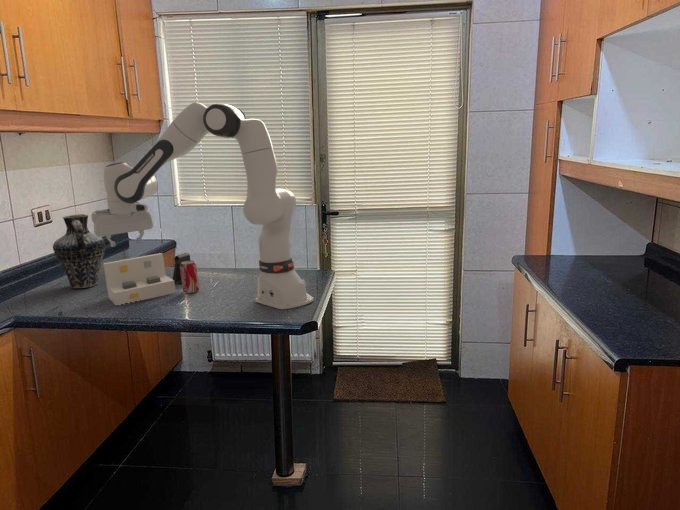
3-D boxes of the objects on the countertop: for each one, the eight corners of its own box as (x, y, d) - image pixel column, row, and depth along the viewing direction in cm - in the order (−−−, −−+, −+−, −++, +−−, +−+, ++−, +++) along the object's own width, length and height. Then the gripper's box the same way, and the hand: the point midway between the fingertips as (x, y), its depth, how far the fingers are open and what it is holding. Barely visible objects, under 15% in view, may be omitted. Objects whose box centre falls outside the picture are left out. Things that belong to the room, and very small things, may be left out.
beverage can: (197, 294, 197) (193, 263, 194) (180, 294, 197) (176, 264, 194) (201, 289, 203) (198, 259, 200) (186, 289, 203) (182, 260, 200)
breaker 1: (137, 292, 194) (135, 282, 193) (126, 295, 191) (124, 285, 191) (134, 290, 197) (133, 280, 196) (123, 292, 195) (122, 282, 194)
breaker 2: (161, 287, 199) (159, 277, 198) (150, 289, 197) (149, 279, 196) (158, 285, 202) (156, 275, 201) (147, 287, 200) (146, 277, 199)
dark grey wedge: (172, 283, 213) (168, 255, 210) (182, 279, 218) (178, 252, 215) (188, 285, 209) (185, 256, 206) (198, 281, 214) (195, 253, 211)
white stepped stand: (176, 292, 200) (171, 258, 196) (116, 306, 187) (110, 269, 184) (165, 286, 209) (161, 252, 206) (108, 298, 197) (103, 263, 194)
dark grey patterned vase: (55, 286, 218) (42, 216, 211) (103, 276, 230) (92, 210, 223) (67, 296, 203) (53, 221, 195) (118, 285, 215) (106, 214, 207)
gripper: (92, 212, 179) (98, 250, 183) (151, 205, 191) (156, 241, 194) (88, 210, 184) (94, 247, 188) (146, 203, 196) (151, 238, 199)
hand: (126, 244), depth 191 cm, fingers open, 8 cm apart
